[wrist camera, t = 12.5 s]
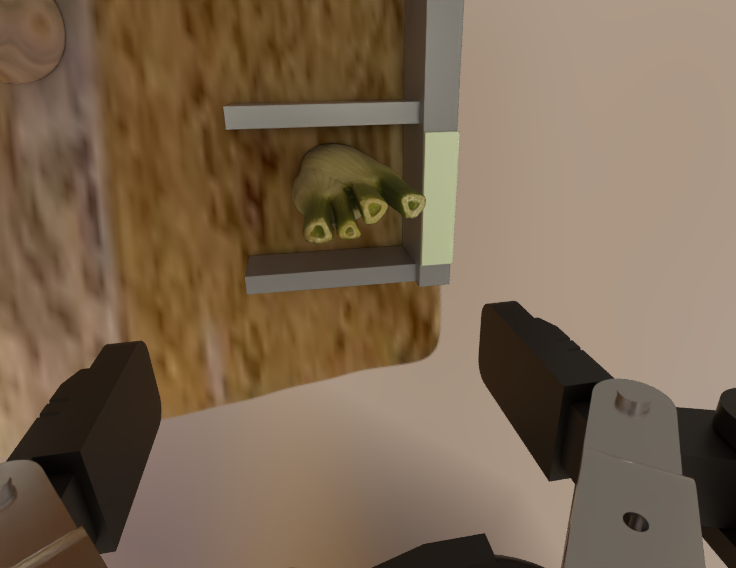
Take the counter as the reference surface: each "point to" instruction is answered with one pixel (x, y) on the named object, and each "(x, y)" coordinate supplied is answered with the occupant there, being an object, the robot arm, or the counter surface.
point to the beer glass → (29, 39)
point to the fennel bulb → (348, 192)
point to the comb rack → (420, 162)
